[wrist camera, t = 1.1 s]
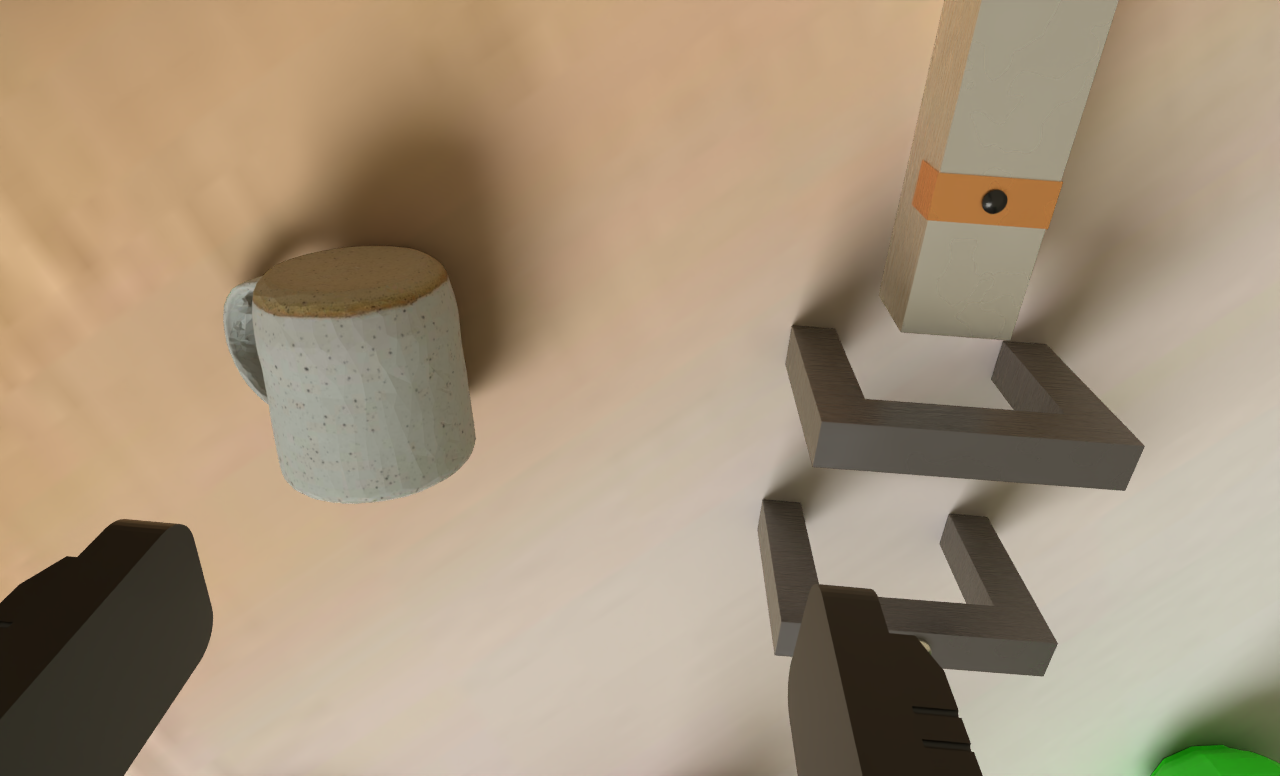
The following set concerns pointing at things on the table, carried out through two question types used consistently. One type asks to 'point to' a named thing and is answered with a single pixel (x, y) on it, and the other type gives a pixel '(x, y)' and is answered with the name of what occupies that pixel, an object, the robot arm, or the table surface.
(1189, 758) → the plastic bottle
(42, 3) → the table surface
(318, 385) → the ceramic mug
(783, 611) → the collar
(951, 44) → the orange banded bar
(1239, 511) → the table surface
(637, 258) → the table surface
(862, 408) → the collar
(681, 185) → the table surface
